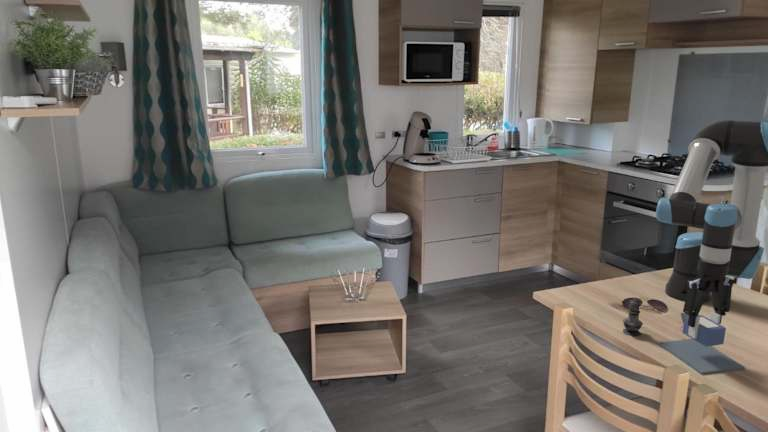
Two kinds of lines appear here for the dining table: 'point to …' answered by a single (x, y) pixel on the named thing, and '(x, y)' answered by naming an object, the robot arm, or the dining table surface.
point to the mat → (700, 356)
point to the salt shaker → (633, 319)
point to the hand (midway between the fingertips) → (702, 335)
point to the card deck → (707, 332)
